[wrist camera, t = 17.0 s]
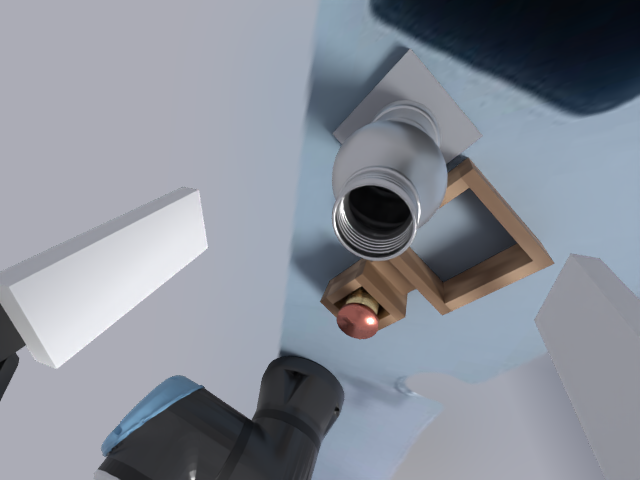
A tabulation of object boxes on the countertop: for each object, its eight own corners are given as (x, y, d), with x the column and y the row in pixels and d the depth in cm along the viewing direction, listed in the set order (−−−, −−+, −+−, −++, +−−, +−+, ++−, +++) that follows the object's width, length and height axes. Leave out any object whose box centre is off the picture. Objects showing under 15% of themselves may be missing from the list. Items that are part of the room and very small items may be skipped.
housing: (376, 326, 43) (371, 350, 39) (318, 269, 41) (307, 289, 38) (540, 242, 31) (556, 266, 27) (468, 157, 29) (474, 170, 26)
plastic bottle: (383, 178, 32) (335, 299, 15) (361, 114, 29) (274, 175, 13) (448, 156, 29) (475, 276, 12) (428, 83, 26) (429, 111, 10)
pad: (397, 199, 33) (396, 202, 33) (334, 131, 32) (332, 133, 31) (481, 134, 28) (483, 135, 27) (411, 49, 27) (410, 48, 26)
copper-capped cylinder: (365, 308, 42) (356, 344, 36) (341, 284, 41) (328, 317, 35) (392, 292, 39) (386, 329, 34) (367, 267, 38) (357, 300, 33)
